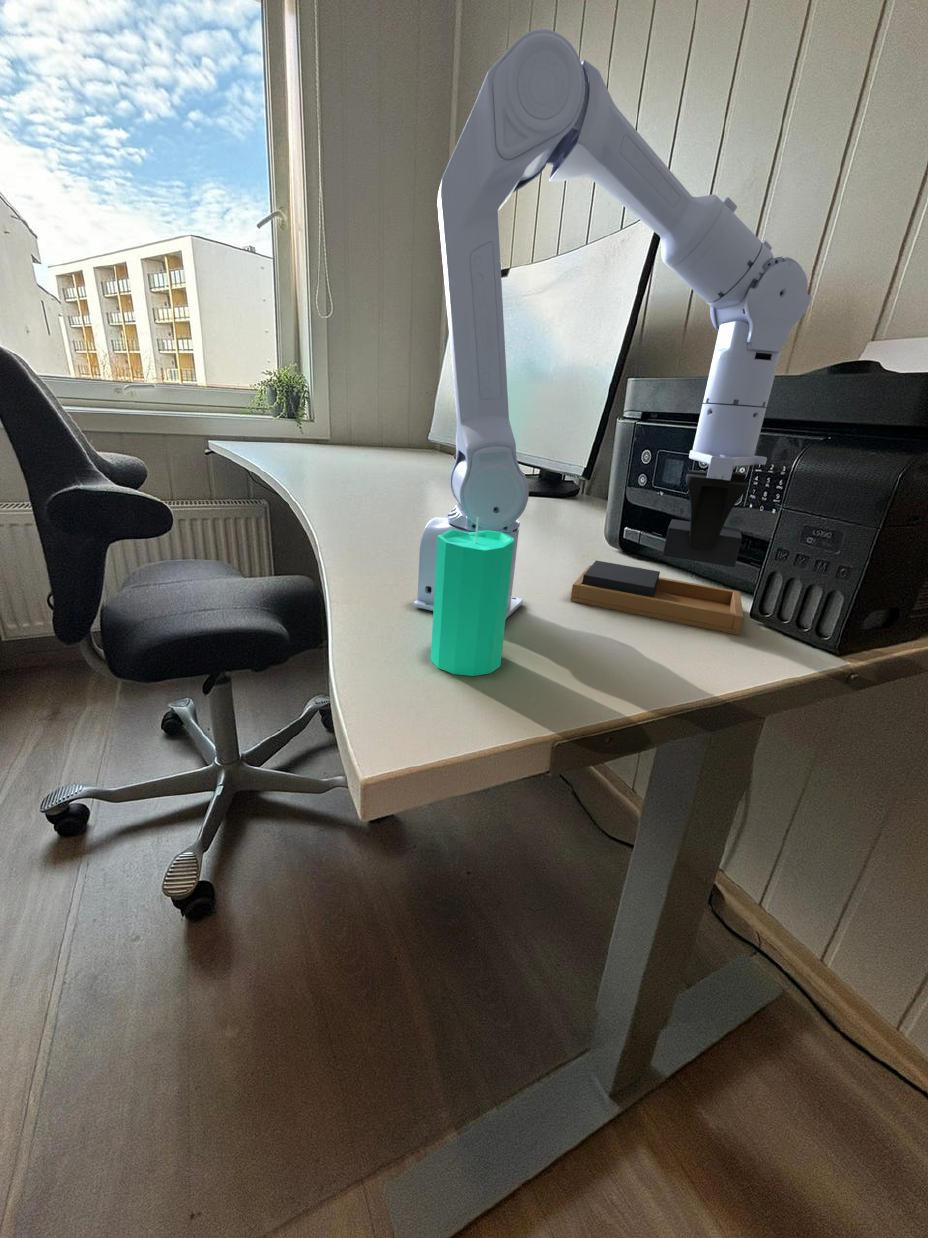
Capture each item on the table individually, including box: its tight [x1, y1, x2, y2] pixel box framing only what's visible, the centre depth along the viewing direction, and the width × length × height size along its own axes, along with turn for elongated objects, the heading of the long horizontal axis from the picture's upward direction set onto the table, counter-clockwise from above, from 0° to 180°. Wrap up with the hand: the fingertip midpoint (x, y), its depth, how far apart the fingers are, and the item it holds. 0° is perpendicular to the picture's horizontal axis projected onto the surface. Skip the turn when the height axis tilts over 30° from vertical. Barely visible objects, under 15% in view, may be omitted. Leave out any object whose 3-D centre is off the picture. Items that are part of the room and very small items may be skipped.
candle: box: [430, 517, 514, 677], centre depth 44 cm, size 6×6×12 cm
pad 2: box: [662, 518, 743, 568], centre depth 58 cm, size 7×6×3 cm
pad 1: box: [582, 559, 661, 598], centre depth 64 cm, size 8×7×2 cm
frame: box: [569, 564, 745, 636], centre depth 63 cm, size 18×10×2 cm, turn 66°
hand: (701, 542), depth 58 cm, fingers closed on pad 2, 5 cm apart
